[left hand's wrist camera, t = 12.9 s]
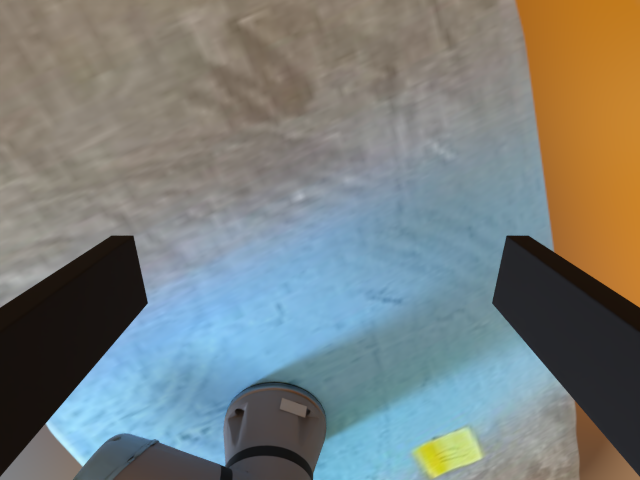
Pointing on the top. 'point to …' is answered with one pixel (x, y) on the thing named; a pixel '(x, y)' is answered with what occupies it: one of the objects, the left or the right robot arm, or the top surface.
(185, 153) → the top surface
